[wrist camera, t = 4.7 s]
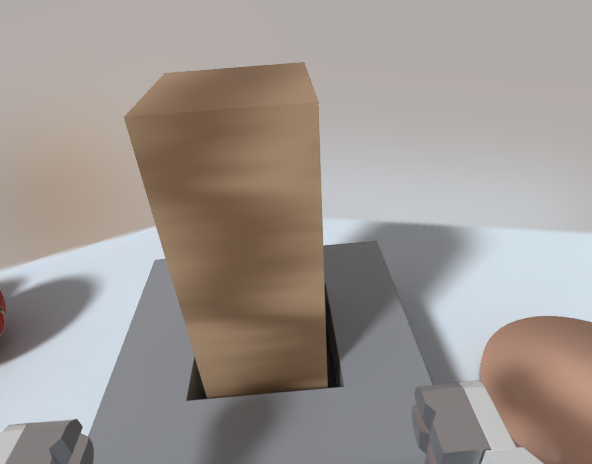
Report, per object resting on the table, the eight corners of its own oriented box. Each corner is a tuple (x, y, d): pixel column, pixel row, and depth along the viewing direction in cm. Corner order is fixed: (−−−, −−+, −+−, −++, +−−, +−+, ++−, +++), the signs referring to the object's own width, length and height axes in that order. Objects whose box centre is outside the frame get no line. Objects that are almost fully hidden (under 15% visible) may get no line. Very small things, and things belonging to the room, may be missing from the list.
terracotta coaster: (583, 306, 23) (586, 298, 23) (786, 462, 16) (796, 454, 15) (441, 351, 21) (442, 343, 21) (597, 552, 14) (604, 545, 13)
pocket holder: (374, 280, 26) (376, 241, 24) (451, 510, 15) (465, 467, 13) (166, 298, 26) (154, 259, 24) (93, 544, 15) (62, 504, 13)
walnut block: (317, 334, 23) (304, 62, 15) (328, 419, 18) (318, 101, 11) (225, 342, 22) (164, 73, 15) (216, 429, 18) (124, 117, 11)
